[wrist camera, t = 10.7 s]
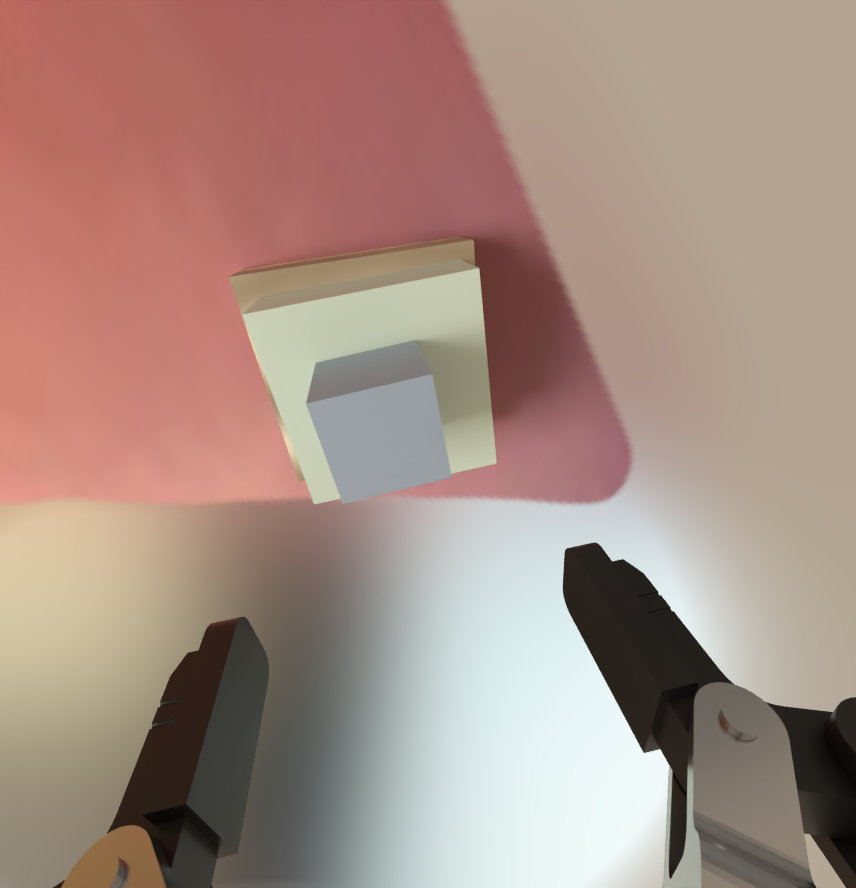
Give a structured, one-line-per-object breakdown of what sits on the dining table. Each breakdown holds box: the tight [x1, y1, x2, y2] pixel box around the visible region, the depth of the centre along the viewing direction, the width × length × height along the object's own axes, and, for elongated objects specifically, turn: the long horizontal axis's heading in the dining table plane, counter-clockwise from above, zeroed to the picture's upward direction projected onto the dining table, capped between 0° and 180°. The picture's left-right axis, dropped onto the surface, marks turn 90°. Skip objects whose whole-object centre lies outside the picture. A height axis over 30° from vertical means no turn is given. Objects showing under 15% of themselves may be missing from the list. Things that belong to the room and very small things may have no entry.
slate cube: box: [306, 340, 452, 504], centre depth 19 cm, size 5×5×5 cm
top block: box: [242, 259, 497, 504], centre depth 24 cm, size 11×11×4 cm
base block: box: [229, 236, 475, 481], centre depth 27 cm, size 13×13×4 cm
